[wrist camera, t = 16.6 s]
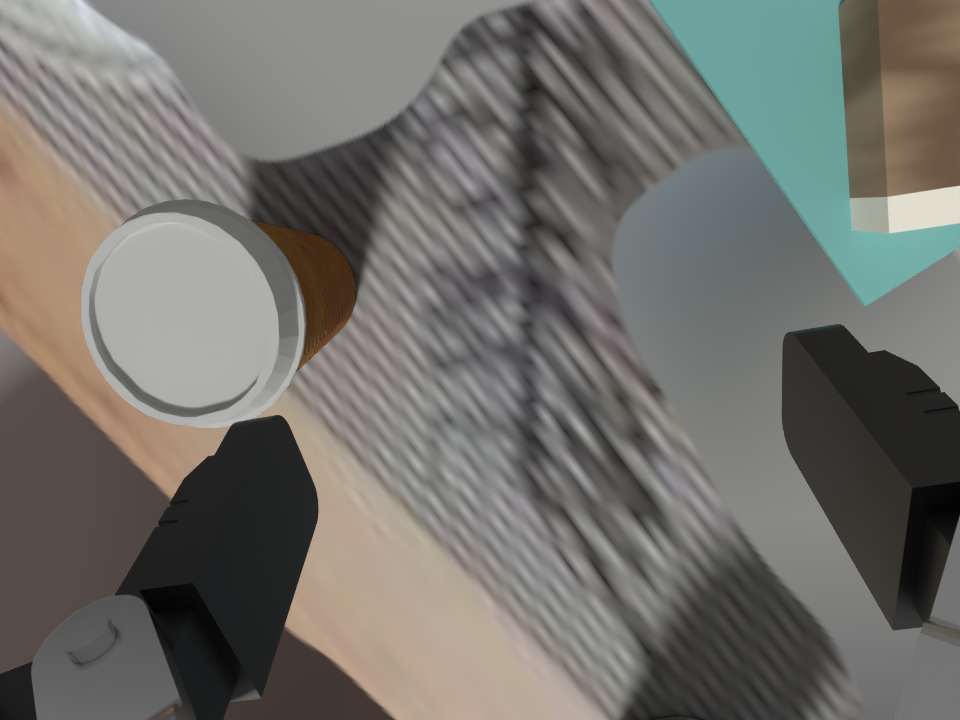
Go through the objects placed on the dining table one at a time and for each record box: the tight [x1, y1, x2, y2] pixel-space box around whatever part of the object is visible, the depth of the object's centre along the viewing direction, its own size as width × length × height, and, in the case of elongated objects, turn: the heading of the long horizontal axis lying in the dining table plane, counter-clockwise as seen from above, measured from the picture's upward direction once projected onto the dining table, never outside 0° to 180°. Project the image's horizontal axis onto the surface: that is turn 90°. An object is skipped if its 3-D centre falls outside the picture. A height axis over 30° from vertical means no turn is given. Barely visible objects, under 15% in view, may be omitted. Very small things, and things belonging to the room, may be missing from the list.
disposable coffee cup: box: [81, 199, 356, 428], centre depth 33 cm, size 10×10×12 cm
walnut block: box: [838, 0, 960, 233], centre depth 30 cm, size 4×4×10 cm
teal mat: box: [649, 0, 960, 306], centre depth 32 cm, size 18×14×1 cm
